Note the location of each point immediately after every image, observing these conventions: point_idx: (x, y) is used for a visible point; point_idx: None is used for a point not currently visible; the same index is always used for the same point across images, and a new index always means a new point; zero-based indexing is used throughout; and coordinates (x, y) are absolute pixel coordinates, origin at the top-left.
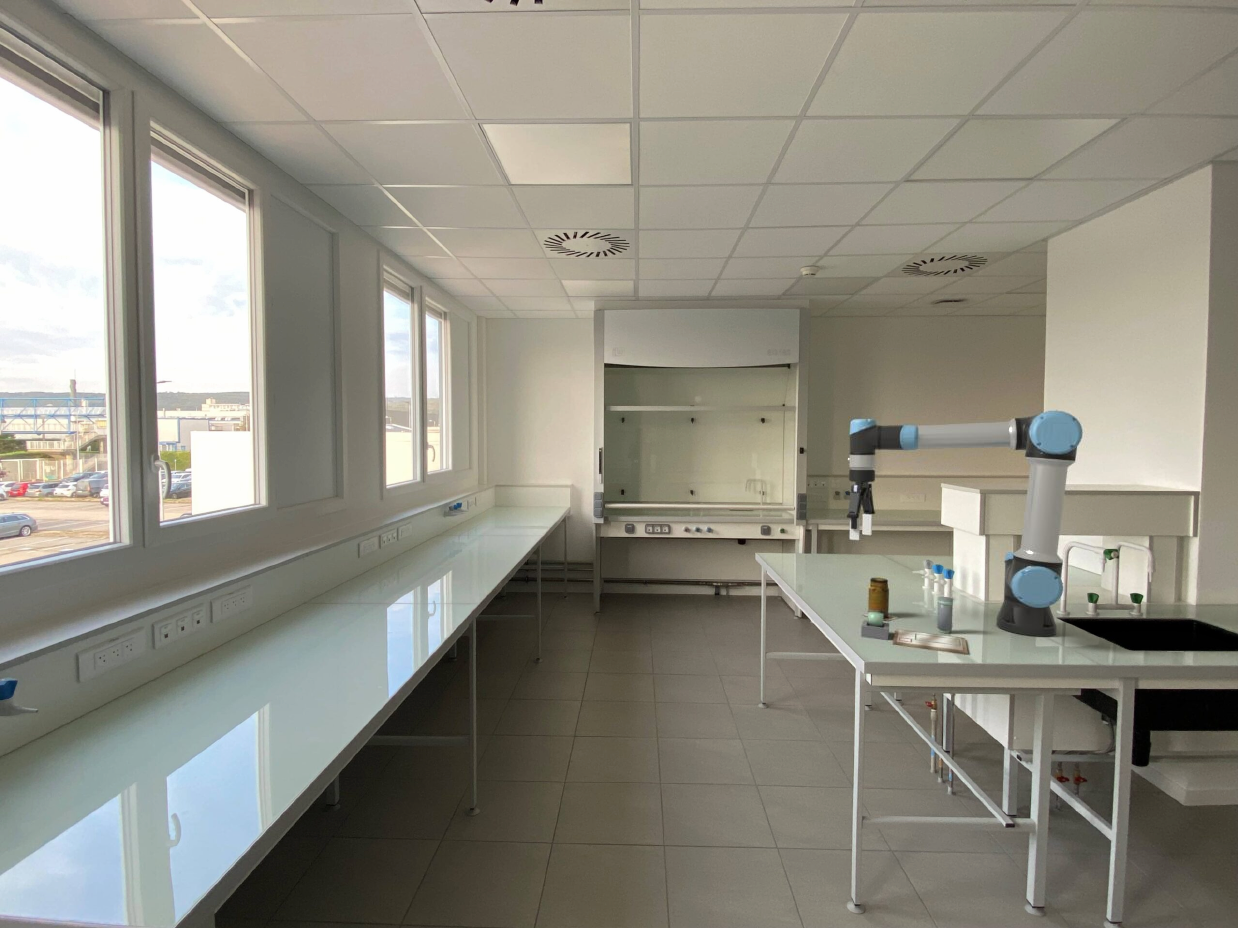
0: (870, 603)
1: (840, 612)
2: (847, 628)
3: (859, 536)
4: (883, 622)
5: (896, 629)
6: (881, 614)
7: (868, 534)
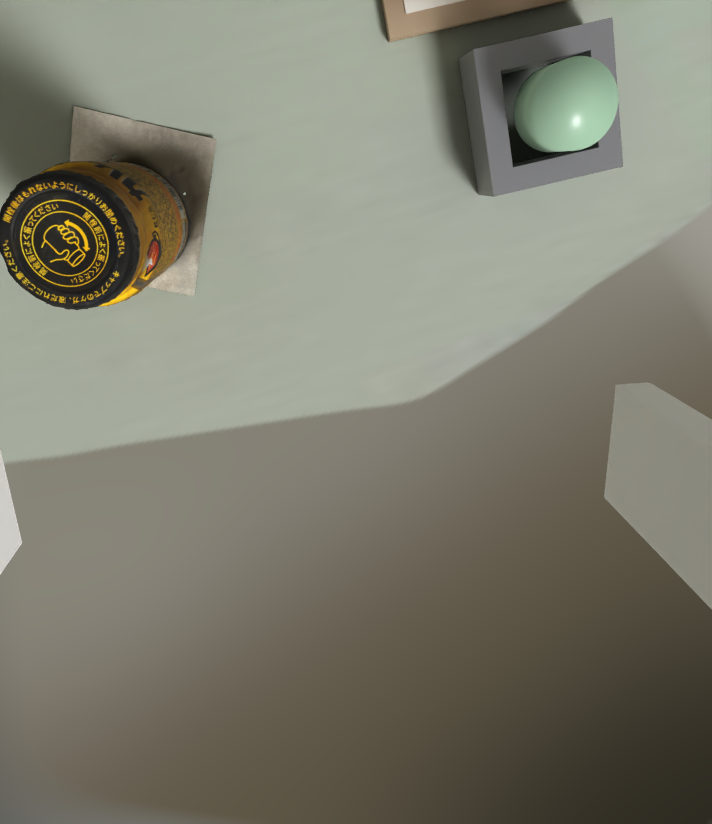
0: (168, 263)
1: (219, 404)
2: (499, 269)
3: (643, 399)
4: (478, 84)
5: (396, 31)
6: (578, 67)
7: (2, 463)
